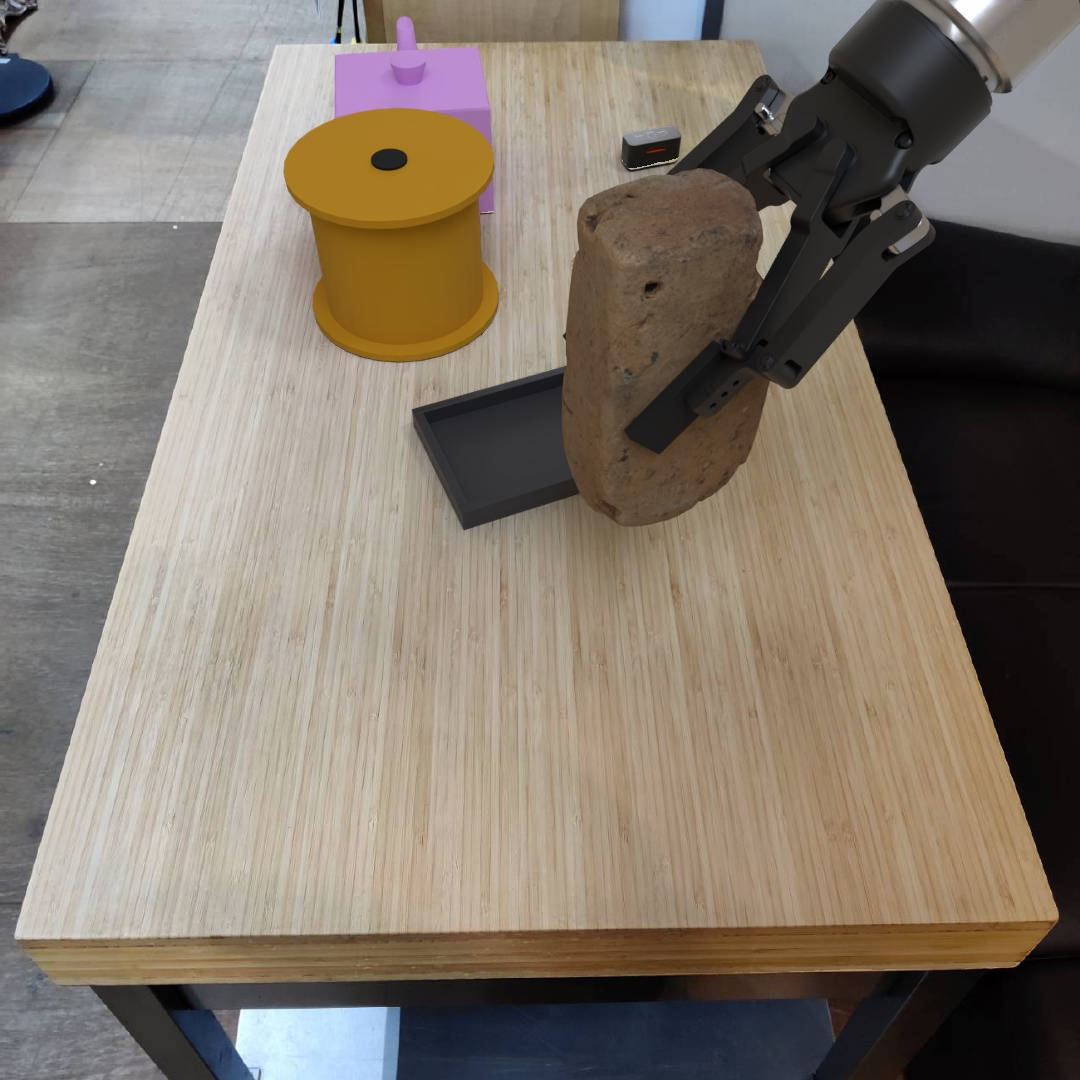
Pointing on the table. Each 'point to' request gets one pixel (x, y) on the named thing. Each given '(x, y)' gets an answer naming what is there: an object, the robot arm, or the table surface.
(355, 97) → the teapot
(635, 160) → the dark grey bluetooth speaker
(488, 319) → the spool
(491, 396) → the dark shallow tray
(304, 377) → the table surface
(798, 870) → the table surface
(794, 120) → the robot arm
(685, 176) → the block
